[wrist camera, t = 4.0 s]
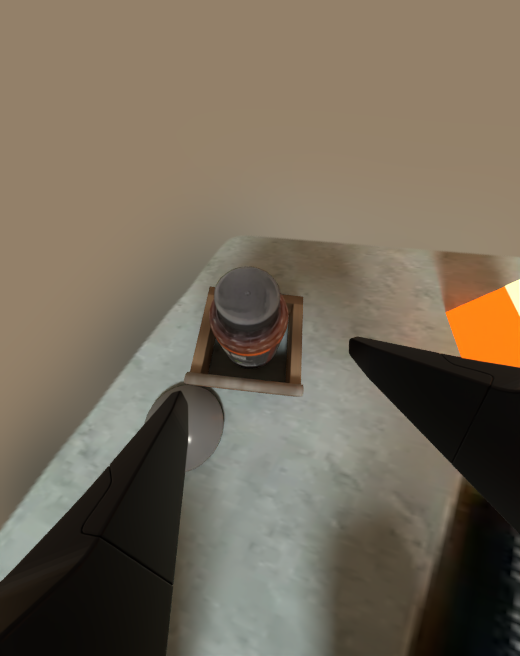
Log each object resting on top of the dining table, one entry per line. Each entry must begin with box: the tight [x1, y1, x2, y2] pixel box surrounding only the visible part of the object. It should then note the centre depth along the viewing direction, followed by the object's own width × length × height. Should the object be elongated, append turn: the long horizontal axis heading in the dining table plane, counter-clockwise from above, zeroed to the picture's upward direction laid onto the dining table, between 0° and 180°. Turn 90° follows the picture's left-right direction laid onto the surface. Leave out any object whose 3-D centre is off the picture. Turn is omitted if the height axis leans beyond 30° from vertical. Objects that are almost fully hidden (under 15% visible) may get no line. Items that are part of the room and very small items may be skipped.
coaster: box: [145, 385, 224, 472], centre depth 18 cm, size 8×8×1 cm
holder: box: [184, 287, 303, 396], centre depth 19 cm, size 10×10×4 cm
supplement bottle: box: [209, 267, 288, 369], centre depth 16 cm, size 6×6×11 cm
